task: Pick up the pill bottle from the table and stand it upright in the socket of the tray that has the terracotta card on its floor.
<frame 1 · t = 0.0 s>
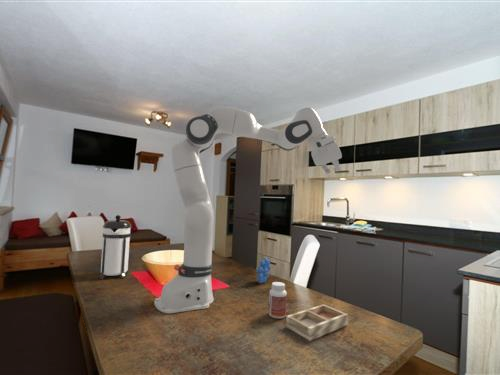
hand: (333, 172, 115), 54 cm above the table, tool tilted 30°, fingers open, 8 cm apart
grapes: (261, 282, 131), on the table
tray: (317, 325, 87), on the table
coffee press: (113, 275, 132), on the table
pill bottle: (277, 315, 94), on the table
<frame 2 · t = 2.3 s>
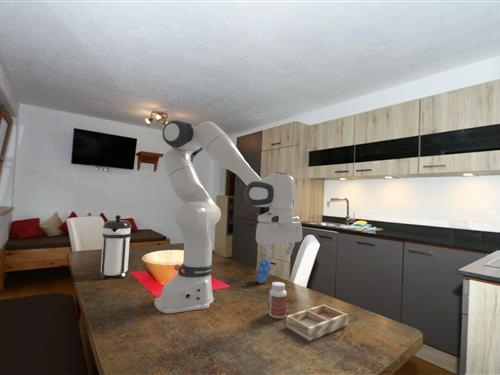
hand: (279, 255, 95), 21 cm above the table, tool pointing down, fingers open, 8 cm apart
nothing on the table moved.
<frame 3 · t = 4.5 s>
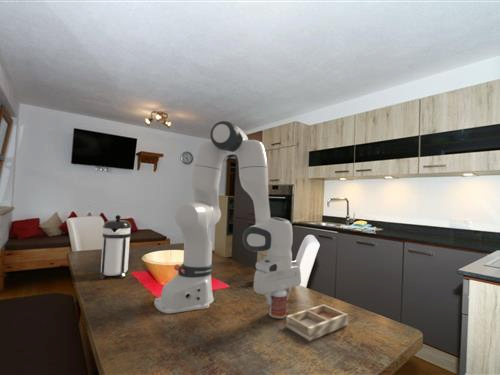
hand: (277, 301, 94), 5 cm above the table, tool pointing down, fingers closed on pill bottle, 6 cm apart
pill bottle: (277, 315, 94), on the table, touching gripper
everything else where it was.
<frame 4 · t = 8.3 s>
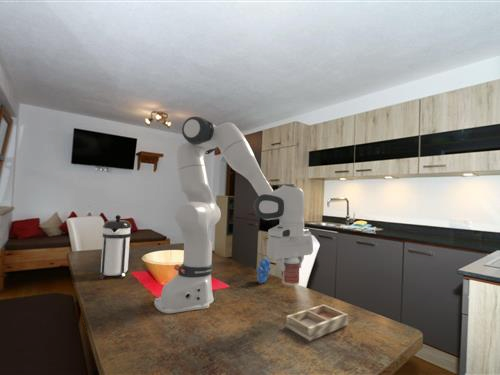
hand: (290, 269, 94), 17 cm above the table, tool pointing down, fingers closed on pill bottle, 6 cm apart
pill bottle: (290, 283, 93), point 12 cm above the table, touching gripper
everything else where it was.
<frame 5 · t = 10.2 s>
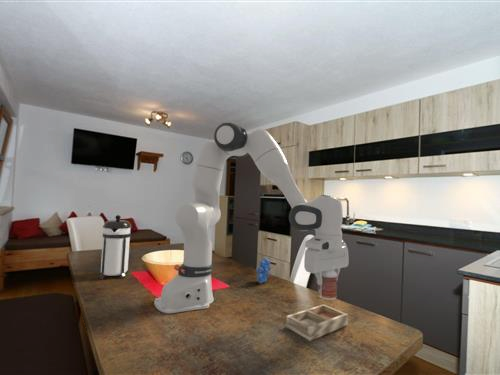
hand: (327, 282, 90), 13 cm above the table, tool pointing down, fingers closed on pill bottle, 6 cm apart
pill bottle: (326, 297, 90), point 8 cm above the table, touching gripper
everything else where it was.
when the fingers open (7 cm above the table, at t = 12.1 s): pill bottle moves 1 cm, resting on tray.
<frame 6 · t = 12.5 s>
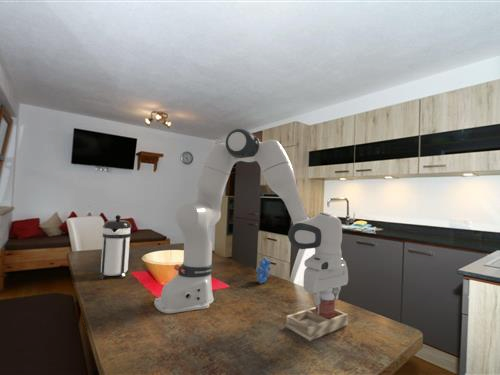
hand: (326, 301, 90), 7 cm above the table, tool pointing down, fingers open, 8 cm apart
pill bottle: (324, 319, 89), point 1 cm above the table, touching tray
everything else where it was.
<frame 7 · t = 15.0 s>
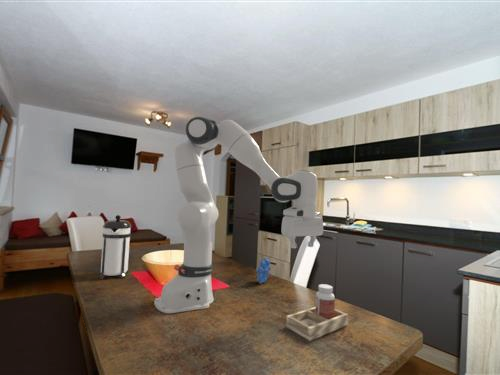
hand: (302, 247, 102), 23 cm above the table, tool pointing down, fingers open, 8 cm apart
nothing on the table moved.
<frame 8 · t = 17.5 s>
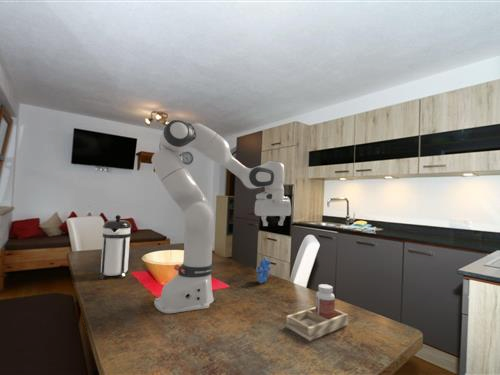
hand: (273, 225, 122), 29 cm above the table, tool pointing down, fingers open, 8 cm apart
nothing on the table moved.
at the end: pill bottle 0.7 cm from the target spot on the tray, point 1.0 cm above the tray's base; pill bottle tilted 0°; the gripper is holding nothing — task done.
